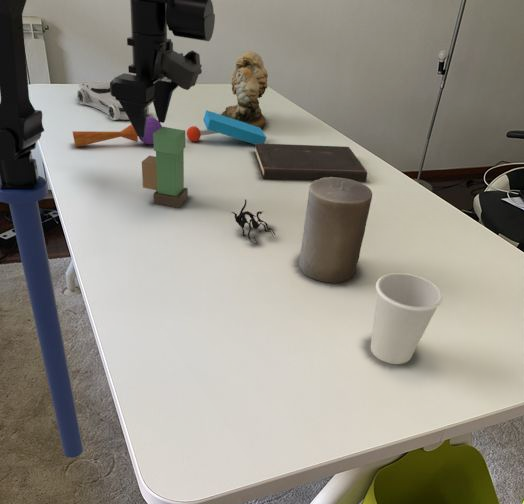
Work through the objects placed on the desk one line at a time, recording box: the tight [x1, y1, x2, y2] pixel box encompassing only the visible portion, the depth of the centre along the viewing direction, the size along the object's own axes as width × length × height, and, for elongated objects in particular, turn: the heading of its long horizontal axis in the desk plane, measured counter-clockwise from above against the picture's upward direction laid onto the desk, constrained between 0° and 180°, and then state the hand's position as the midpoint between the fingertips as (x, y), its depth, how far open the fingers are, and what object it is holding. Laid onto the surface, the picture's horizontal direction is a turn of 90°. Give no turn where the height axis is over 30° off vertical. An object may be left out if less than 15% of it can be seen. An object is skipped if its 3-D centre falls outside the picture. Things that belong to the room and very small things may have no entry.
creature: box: [231, 198, 276, 245], centre depth 97 cm, size 8×5×8 cm
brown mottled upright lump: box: [221, 50, 269, 130], centre depth 143 cm, size 18×12×17 cm, turn 9°
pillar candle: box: [298, 177, 373, 284], centre depth 87 cm, size 10×10×15 cm
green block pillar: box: [141, 126, 189, 209], centre depth 102 cm, size 12×5×12 cm
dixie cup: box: [370, 272, 444, 365], centre depth 72 cm, size 8×8×10 cm
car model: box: [76, 81, 150, 121], centre depth 147 cm, size 11×24×5 cm, turn 42°
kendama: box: [71, 116, 163, 148], centre depth 125 cm, size 6×6×20 cm
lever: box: [186, 109, 267, 145], centre depth 134 cm, size 7×7×18 cm
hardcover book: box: [253, 143, 368, 182], centre depth 125 cm, size 16×23×2 cm
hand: (151, 129), depth 100 cm, fingers open, 9 cm apart
